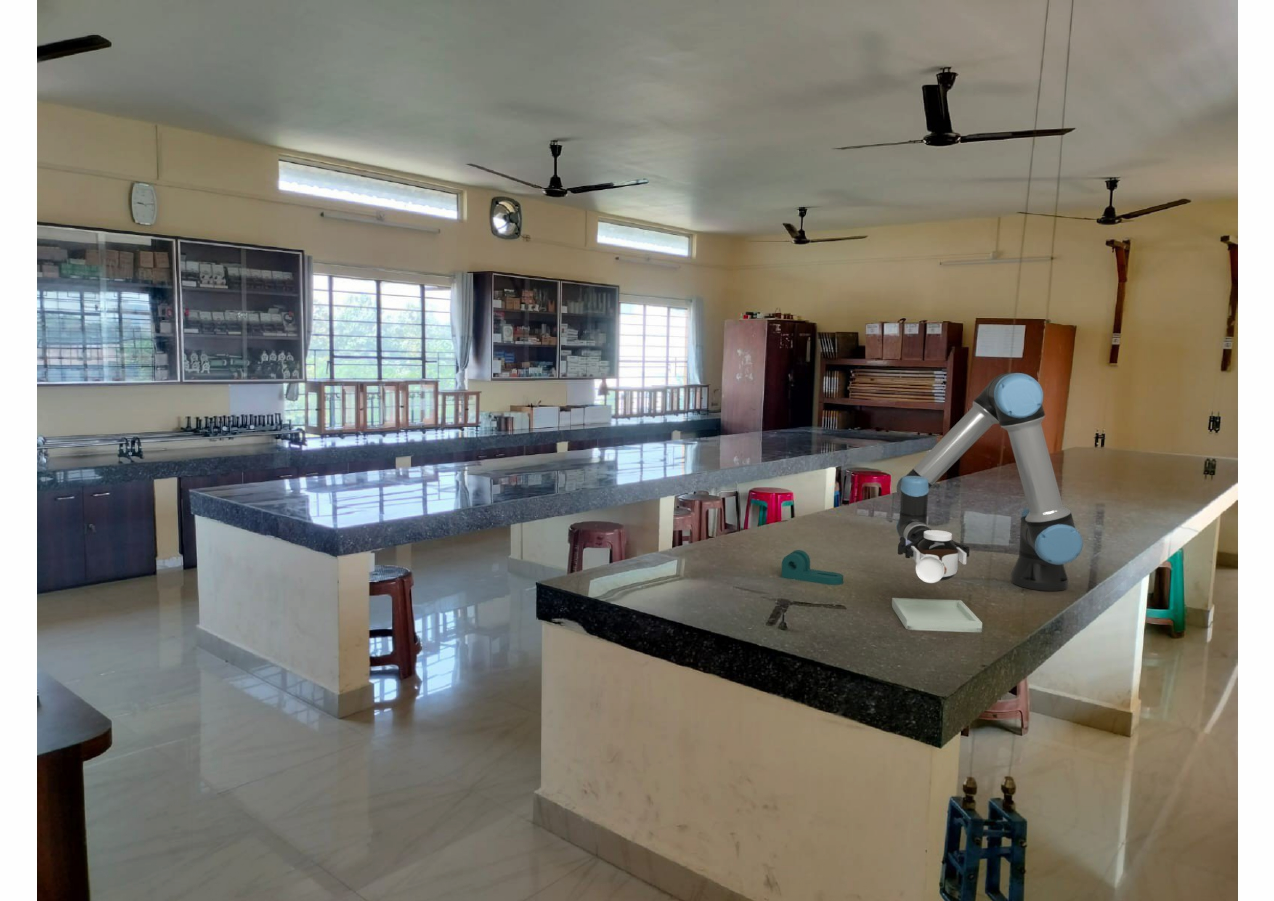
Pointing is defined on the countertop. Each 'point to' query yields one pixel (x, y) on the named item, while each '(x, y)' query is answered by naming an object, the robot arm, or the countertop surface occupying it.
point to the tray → (936, 615)
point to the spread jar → (936, 557)
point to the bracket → (807, 570)
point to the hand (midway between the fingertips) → (941, 558)
